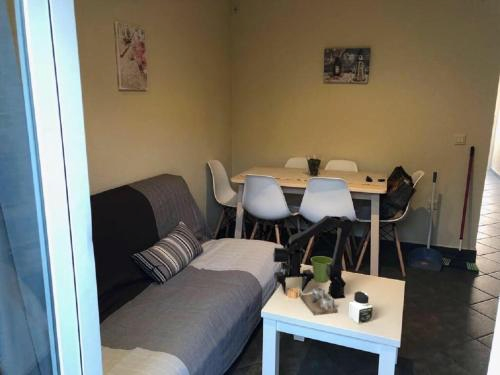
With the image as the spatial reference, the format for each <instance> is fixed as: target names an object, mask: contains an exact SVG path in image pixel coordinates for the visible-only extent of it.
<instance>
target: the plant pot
mask: <svg viewBox="0 0 500 375" xmlns="http://www.w3.org/2000/svg"><path fill="white" fill-rule="evenodd" d="M332 260H333V258H331V257H328V256H324V255H322V256H321V255H319V256H312V257H311V258H310V261H311V266H312V271H313V272H312V273H313V274H314V279H313V280H314V281H316V282H318V283H325V282H328V280H329V278H328V276H327V274H326V269H327V264H331V262H332Z"/></svg>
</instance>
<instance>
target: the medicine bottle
mask: <svg viewBox="0 0 500 375" xmlns="http://www.w3.org/2000/svg"><path fill="white" fill-rule="evenodd" d="M353 295H354V296H353V301H350V302H349V304H348V318H350V320H352V321H353V322H355V323H356V324H357V325H361V324H365V323H369V322H372V321H373V320H372V319H373V305H371V304H370V303H369V301H370V295H369V293H367V292H365V291H361V290H360V291H359V290H358V291H356V292H355V293H354V294H353Z"/></svg>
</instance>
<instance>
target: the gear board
mask: <svg viewBox="0 0 500 375" xmlns="http://www.w3.org/2000/svg"><path fill="white" fill-rule="evenodd" d="M325 292H326V290H325V289H322V288H320V287H317V288H315V287H314V288H312V292H311V293H310V294H309V293H308V294H301V295H299V297H300V300H301V301H302V302H303V304H305V306H306V308H308V310H309V311H310V312H311V313H312V315H313V316H320V315H330V314H331V315H332V314H337V313H338V309H337V308H336V307H335V306H334V304H335V299H333V298H332V297H331V298H330V297H327V296H325Z"/></svg>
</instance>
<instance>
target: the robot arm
mask: <svg viewBox="0 0 500 375" xmlns="http://www.w3.org/2000/svg"><path fill="white" fill-rule="evenodd" d="M328 227H335V228H337V238H336V243H335V246H334V252H333V256H332V259H333V260H332V262H331V264H327V269H326V274H327V276H328V280H329V282H330V283H329V286H328V292H327V294H328V295H329V296H330V297H331V299H334V300H335V299H345V298H346V295H345V286H346V282H345V280H344V279H343V276H342V273H343V272H342V262H343V257H344V253H345V250H346V246H347V245H346V244H347V241H348V237H349V236H350V235H351V234H352V231H353V228H354V221H352V220H351V218H349V217H348V216H347V215H342V216H336V215H325V216H324V217H322V218H321V219H320V220H318V221H317V222H315V223H314V224H312V225H311V226H309V227H307V229H305V230H304V231H301V232H297V233H294V234H293V235H291V236H290V237H289V239H288V242H287V243H286V244H285V245H284V247H274V249H273V254H272V259H273V263H281V264H280V268H281V270H284V271H285V272H286V273H284V272H283V271H277V272H274V274H273V278H274V280H275V281H276V282H277V283H279V284H280V286H281V289H282V291H283V294H286V293H287V289H286V288H287V282H286V279H292V278H293V279H294V278H301V280H302V281H301V292H302V293H303V292H304V291H305V289H306V287H307V285H308V284H309V283H310V282H311V281H312V280H314V273H313V272H312V271H311V269H303V270H302V272H301V268H302V267H303V266H302V255H306V251H305V249H303V247H305V246H306V244H307V242H309V240H310V239H312V238H313V237H315V236H316V235H317V234H319V233H321V232H323V231H324V230H325V229H326V228H328Z"/></svg>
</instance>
